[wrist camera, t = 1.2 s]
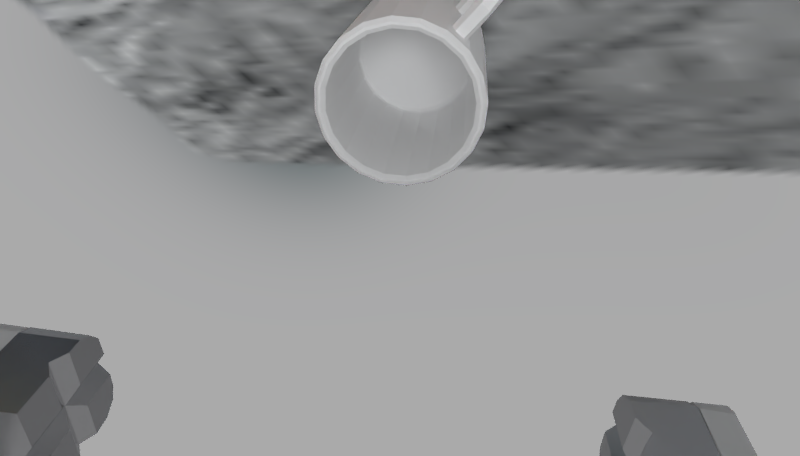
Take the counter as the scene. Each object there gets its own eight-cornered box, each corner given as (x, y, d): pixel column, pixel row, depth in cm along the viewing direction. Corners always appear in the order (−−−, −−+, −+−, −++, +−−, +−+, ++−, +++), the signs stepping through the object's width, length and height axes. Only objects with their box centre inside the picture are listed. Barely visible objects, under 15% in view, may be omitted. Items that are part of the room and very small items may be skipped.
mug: (564, -6, 32) (595, 34, 23) (424, 140, 37) (408, 215, 29) (459, -114, 29) (452, -112, 21) (327, 59, 35) (281, 114, 27)
